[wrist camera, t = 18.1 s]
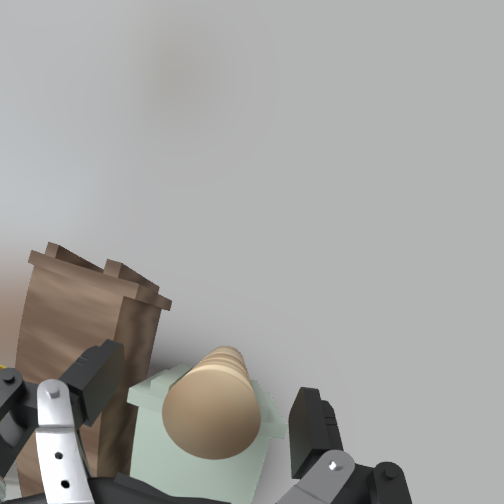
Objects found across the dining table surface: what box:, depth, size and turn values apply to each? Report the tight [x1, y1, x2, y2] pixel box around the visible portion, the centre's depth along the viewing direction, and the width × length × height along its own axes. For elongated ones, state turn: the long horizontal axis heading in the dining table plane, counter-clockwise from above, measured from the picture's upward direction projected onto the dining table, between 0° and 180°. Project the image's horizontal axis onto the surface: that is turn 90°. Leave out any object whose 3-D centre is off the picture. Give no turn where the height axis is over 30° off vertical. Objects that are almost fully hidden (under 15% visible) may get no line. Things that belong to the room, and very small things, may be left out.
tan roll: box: [162, 346, 261, 460], centre depth 21 cm, size 22×4×4 cm, turn 3°
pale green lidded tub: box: [127, 364, 287, 504], centre depth 21 cm, size 12×12×23 cm
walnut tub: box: [15, 242, 172, 497], centre depth 22 cm, size 12×12×31 cm
